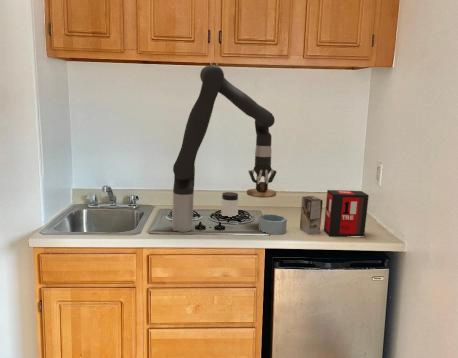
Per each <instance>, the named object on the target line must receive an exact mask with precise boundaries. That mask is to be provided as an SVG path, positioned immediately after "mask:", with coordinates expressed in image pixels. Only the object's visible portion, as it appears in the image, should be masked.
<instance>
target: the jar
mask: <svg viewBox="0 0 458 358" xmlns="http://www.w3.org/2000/svg"><path fill="white" fill-rule="evenodd" d="M239 202H240V201H239V194H238V193H237V192H234V191H233V192H231V191H226V192H222V194H221V202H220V203H221V204H220V206H221V207H220V216H221V215H222V216H228V217H232V216H236V215H238V214H239ZM222 216H221V217H222ZM238 216H239V215H238Z"/></svg>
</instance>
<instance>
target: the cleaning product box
mask: <svg viewBox="0 0 458 358" xmlns="http://www.w3.org/2000/svg"><path fill="white" fill-rule="evenodd" d="M326 191H327V192H326V199H325V200H326V201H325V202H326V204H325V212H324V214H325V215H324V222H323V225H324V226H323V231H324V233H325V234H326V235H327V236H328V237H329V238H331V237H335V238H337V237H339V238H348V237H347V236H364V237H365V232H366V222H367V213H368V205H369V196H370V195H369V194H367V193H366V192H364V191H362V190H341V189H339V190H337V189H327V190H326Z"/></svg>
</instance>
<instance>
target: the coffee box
mask: <svg viewBox="0 0 458 358" xmlns="http://www.w3.org/2000/svg"><path fill="white" fill-rule="evenodd" d="M323 203H324V202H323V199H320V198H319V197H316V196H313V195H308V196H307V195H306V196H301V206H300V207H301V209H300V218H299V219H300V220H299V221H300V222H299V229H300V230H301V231H303V232H304V233H306V234H308V235H314V234H317V235H318V234H320V233H321V227H322V225H321V223H322V214H323V213H322V212H323Z"/></svg>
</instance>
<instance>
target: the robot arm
mask: <svg viewBox="0 0 458 358" xmlns="http://www.w3.org/2000/svg"><path fill="white" fill-rule="evenodd" d="M199 76H200V77H199V78H200V80H201V83H202V84H201V88H200V92H199V95H198V97H197V99H196V101H195V103H194V105H193V106H192V108H191V110H190V113H189V115H188V118H187V121H186V124H185V130H184V133H183V138H182V144H181V147H180V151H179V153H178V155H177V157H176V160H175V162H174V163H173V165H172V171H173V174H174V176H173V177H174V178H173V179H174V180H173V188H172V213H171V215H172V217H171V219H172V220H171V227H172V231H173V232H180V233H181V232H182V233H183V232H184V233H185V232H187V233H188V232H190V231H192V230H193V224H194V223H193V222H194V221H193V219H194V197H195V196H194V195H195V194H194V193H195V192H194V191H195V175H196V173H195V172H196V168H195V167H196V165H195V163H196V158H197V155H198V151H199V149H200V148H201V144H202V143H203V140H204V138H205V136H206V133H207V131H208V128H209V125H210V120H211V118H212V113H213V110H214V106H215V102H216V99H217V97H218V94H221V95H222V96H223V97H225V98H226V99H227V101H229V102H231V104H233V105H234V106H235V107H236V108H238V109H239V110H240V111H241V112H243V113H244V114H245V115H246V116H248V117H249V118H252V119H254V127H255V134H256V138H255V141H256V142H255V149H254V167H253V169H251V170H250V169H249V170H248V175H249V176H250V179H251V181H252V182H253V183H255V189H256V190H257V191H258V192H260V184H259V183H260V182H261V179H262V178H263V182H265V192H266V191H267V190H268V189H269V184H270V183H272V182H273V181H274V179H275V178H276V177H275V176H276V174H277V170H275V169H273V168H272V167H271V166H272V140H273V139H272V134H271V133H270V130H269V129H270V128H271V127H272V126H273V125H274V124H275V116H274V114H273V113H272V112H270V111H269V110H268V109H266V108H264V107H263V106H262V105H260V104H259V103H257V101H255V100H254V99H253V98H252V97H251V96H249V95H248V94H246V93H245V92H244V91H242V90H240V89H239V88H238V87H236V86H235V85H234V84H232V83H231V82H229V81H228V80H227V79H226V78H225V72H224V71H223V69H222V68H221V67H220V66H218V65H214V64H213V65H212V64H210V65H206V66H204V67H203V68H202V69H201V70H200V73H199ZM255 174H256V178H255ZM269 174H270V175H269Z"/></svg>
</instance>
